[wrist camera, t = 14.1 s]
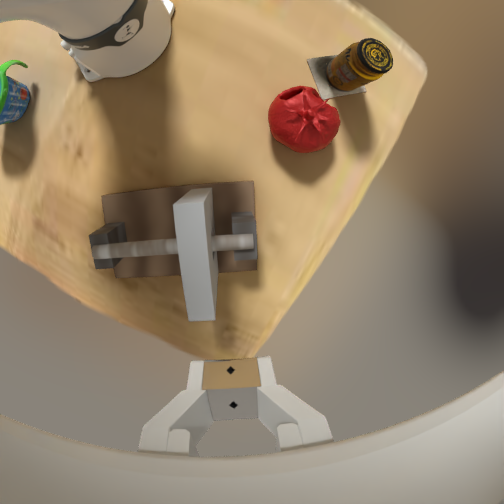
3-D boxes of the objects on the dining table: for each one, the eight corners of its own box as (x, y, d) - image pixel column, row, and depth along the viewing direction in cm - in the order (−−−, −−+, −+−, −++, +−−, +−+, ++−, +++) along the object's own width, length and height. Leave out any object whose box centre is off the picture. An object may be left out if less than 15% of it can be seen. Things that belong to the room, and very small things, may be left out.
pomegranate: (322, 158, 41) (346, 161, 32) (259, 146, 39) (269, 144, 31) (331, 100, 38) (357, 89, 29) (270, 85, 36) (282, 68, 28)
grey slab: (199, 272, 43) (188, 321, 30) (191, 189, 39) (172, 204, 26) (218, 270, 44) (215, 320, 30) (212, 187, 39) (203, 202, 26)
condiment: (366, 91, 37) (406, 76, 26) (321, 99, 38) (353, 82, 26) (351, 53, 35) (386, 29, 24) (306, 60, 35) (332, 31, 24)
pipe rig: (117, 275, 44) (97, 300, 35) (104, 195, 39) (76, 205, 31) (256, 267, 46) (263, 293, 37) (253, 180, 41) (259, 186, 32)
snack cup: (12, 151, 34) (-23, 154, 24) (-9, 127, 31) (-41, 128, 22) (52, 78, 31) (20, 67, 21) (28, 60, 28) (-3, 49, 19)
